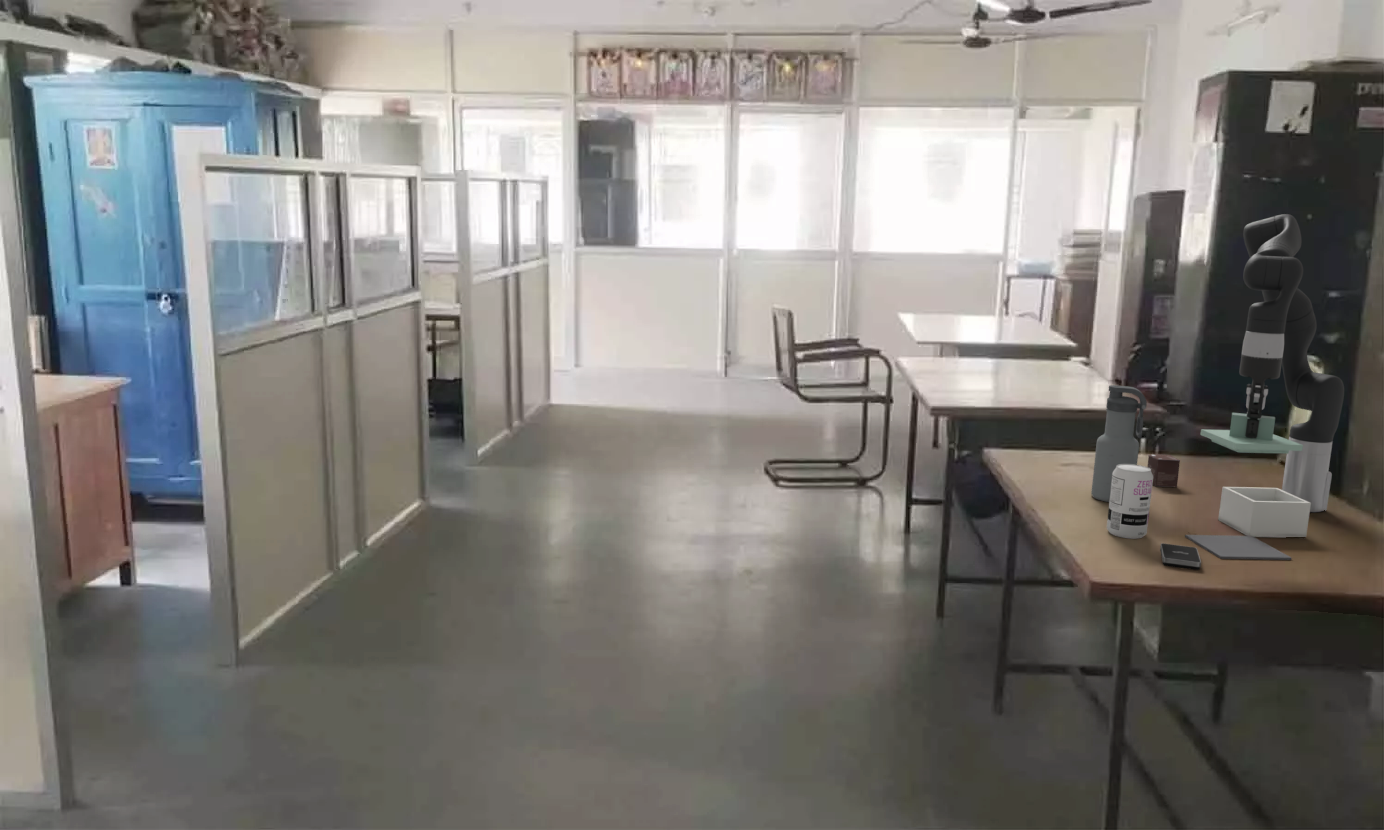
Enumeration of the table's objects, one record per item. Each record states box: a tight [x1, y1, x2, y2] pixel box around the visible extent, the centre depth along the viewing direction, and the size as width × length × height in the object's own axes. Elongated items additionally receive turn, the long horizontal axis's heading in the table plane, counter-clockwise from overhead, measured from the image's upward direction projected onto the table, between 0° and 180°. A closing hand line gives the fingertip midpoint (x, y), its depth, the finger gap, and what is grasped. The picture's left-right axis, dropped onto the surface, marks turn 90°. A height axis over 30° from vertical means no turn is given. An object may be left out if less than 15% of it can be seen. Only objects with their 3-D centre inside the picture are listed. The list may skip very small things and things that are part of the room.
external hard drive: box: [1159, 542, 1202, 571], centre depth 222 cm, size 7×11×2 cm, turn 160°
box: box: [1147, 454, 1181, 488], centre depth 286 cm, size 6×6×7 cm
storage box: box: [1217, 486, 1311, 538], centre depth 246 cm, size 13×13×8 cm
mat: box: [1184, 534, 1293, 561], centre depth 232 cm, size 15×15×1 cm
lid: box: [1200, 412, 1303, 455], centre depth 227 cm, size 14×14×7 cm
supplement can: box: [1106, 464, 1153, 540], centre depth 238 cm, size 8×8×15 cm
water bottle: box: [1090, 384, 1147, 503], centre depth 267 cm, size 10×10×28 cm
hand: (1251, 435), depth 227 cm, fingers closed on lid, 3 cm apart
